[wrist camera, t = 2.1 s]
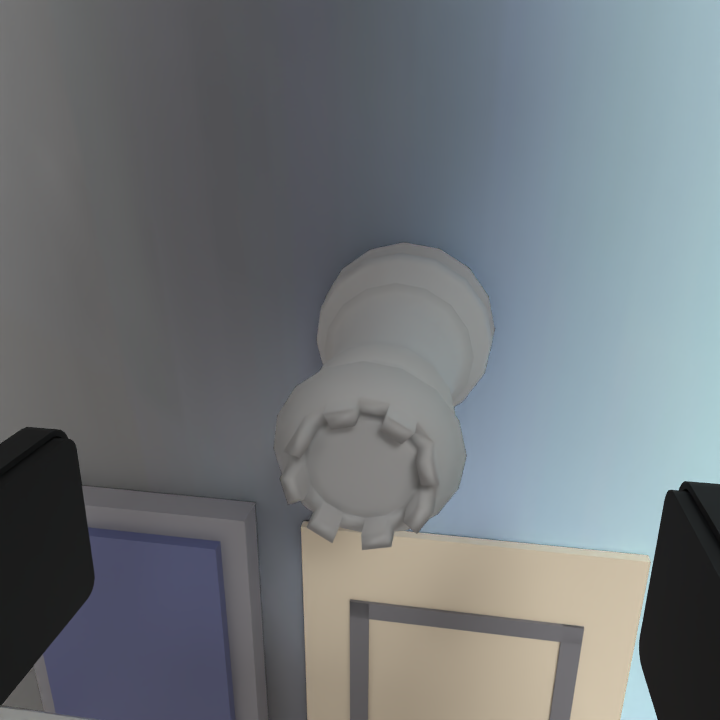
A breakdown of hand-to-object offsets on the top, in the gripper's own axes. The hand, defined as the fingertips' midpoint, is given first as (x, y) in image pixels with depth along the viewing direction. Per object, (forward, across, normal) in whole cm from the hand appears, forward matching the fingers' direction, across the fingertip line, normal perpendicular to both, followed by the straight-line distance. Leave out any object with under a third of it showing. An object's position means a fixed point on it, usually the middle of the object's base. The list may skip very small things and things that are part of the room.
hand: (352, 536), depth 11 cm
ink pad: (+8, +8, +10) cm, 15 cm away
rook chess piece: (+8, 0, -1) cm, 8 cm away
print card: (+9, -2, +11) cm, 14 cm away
